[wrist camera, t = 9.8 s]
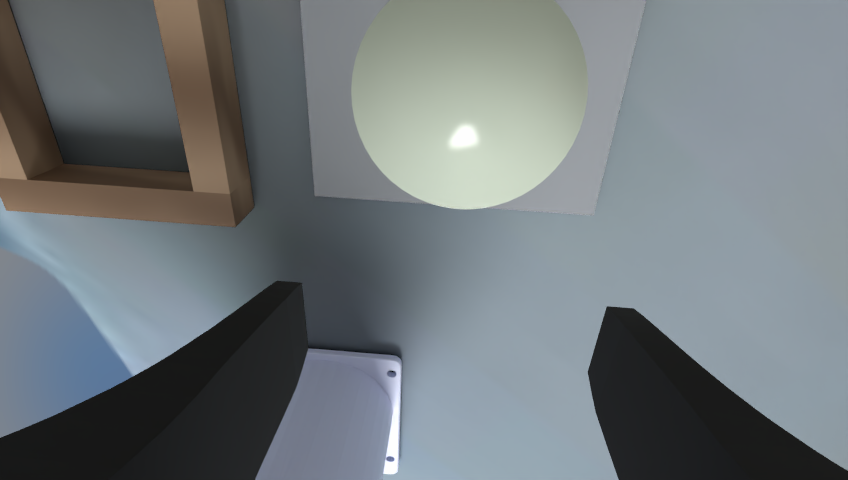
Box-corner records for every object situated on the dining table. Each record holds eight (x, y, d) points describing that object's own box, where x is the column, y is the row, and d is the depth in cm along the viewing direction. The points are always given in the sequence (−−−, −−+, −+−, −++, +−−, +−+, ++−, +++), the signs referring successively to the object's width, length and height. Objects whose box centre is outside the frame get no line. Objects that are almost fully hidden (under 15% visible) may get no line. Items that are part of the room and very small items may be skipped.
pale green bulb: (522, 132, 18) (557, 220, 11) (395, 119, 18) (350, 196, 11) (550, -13, 16) (618, -21, 9) (404, -27, 16) (352, -47, 9)
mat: (590, 210, 20) (593, 215, 20) (317, 191, 20) (314, 196, 20) (675, -142, 14) (682, -146, 14) (293, -157, 15) (287, -162, 14)
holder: (254, 207, 21) (235, 227, 19) (43, 192, 21) (6, 210, 20) (217, -51, 16) (187, -56, 14) (-54, -64, 17) (-115, -70, 15)
